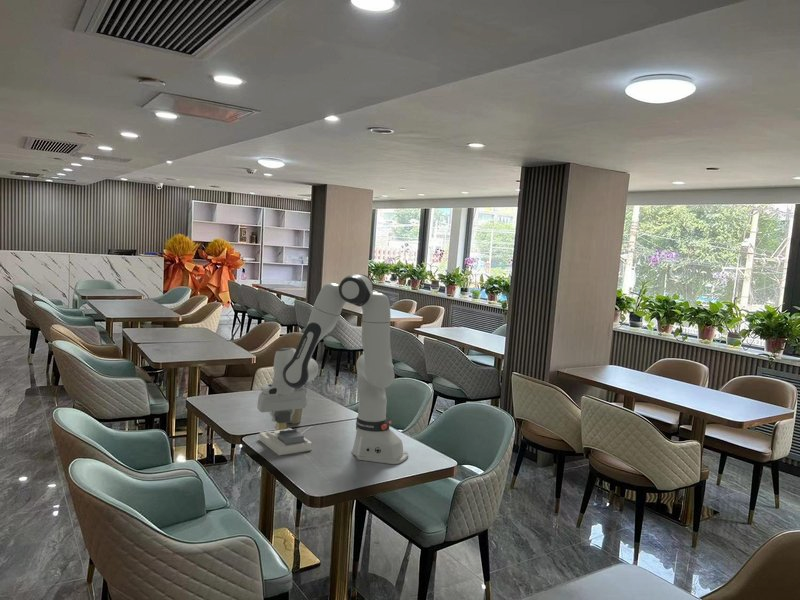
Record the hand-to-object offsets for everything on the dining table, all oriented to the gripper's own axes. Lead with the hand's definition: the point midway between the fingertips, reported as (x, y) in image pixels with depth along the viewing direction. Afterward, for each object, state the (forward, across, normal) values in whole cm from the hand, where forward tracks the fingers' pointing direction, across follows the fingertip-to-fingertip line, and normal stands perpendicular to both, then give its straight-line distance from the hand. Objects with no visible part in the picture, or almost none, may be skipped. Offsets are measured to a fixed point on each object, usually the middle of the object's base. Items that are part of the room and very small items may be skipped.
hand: (281, 420), depth 238 cm
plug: (+3, 0, 0) cm, 3 cm away
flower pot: (+9, -16, -23) cm, 29 cm away
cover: (+6, 0, +9) cm, 11 cm away
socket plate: (+9, 0, +4) cm, 10 cm away
